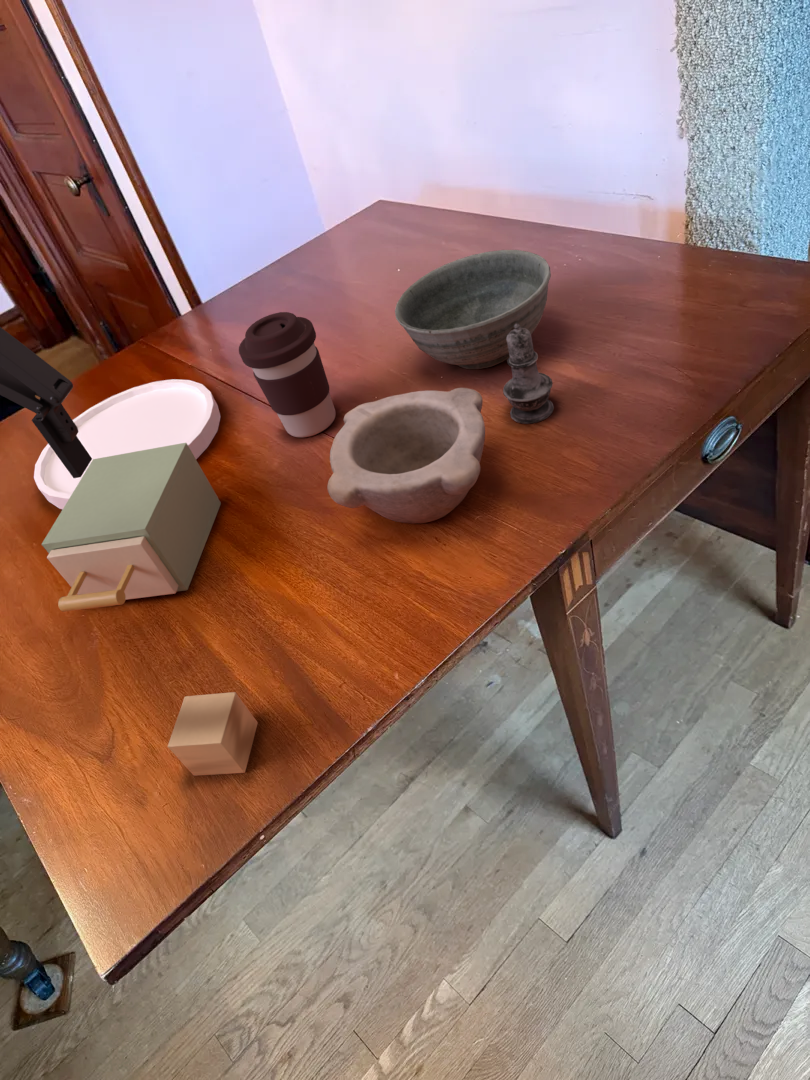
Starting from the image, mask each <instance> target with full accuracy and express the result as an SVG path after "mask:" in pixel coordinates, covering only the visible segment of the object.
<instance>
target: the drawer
mask: <svg viewBox="0 0 810 1080" xmlns="http://www.w3.org/2000/svg"><path fill="white" fill-rule="evenodd" d="M46 559H47V560H48V561H49V562H50V563H51V565H52V566H53V567H54V569H55V570H56V571H57V572H58V573H59V575H60V576H61V577H62V578H63V579H64V580H65V581H66V582H67V584H68V585H69V587H71V588H70V590H69V591H68V593H67V595H65V596H61V597H60V598H59V599H58V602H57V605H58V608H59V609H58V610H60V611H61V612H65V613H66V612H74V611H81V610H91V609H98V608H106V607H107V608H108V607H113V606H123V605H124V604H125V602H126V600H134V599H135V600H136V599H141V598H150V597H157V596H165V595H173V594H174V595H175V594H176V593H177V592H178V591H177V589H178V586H179V585H178V584H177V582H176V581H175V580H174V578H173V577H172V575H171V574H170V572H169V571H168V570H167V568H166V567H165V565H164V564H163V562H162V561H161V560H160V558H159V557H158V555H157V554H156V552H155V551H154V549H153V548H152V547H151V545H150V544H149V542H148V541H147V539H146V538H145V537H144V536H136V537H130V538H123V539H116V540H110V541H103V542H96V543H89V544H83V545H76V546H69V547H68V548H62V549H55V550H51V551H50V553H48V554H47V556H46ZM176 591H177V592H176Z"/></svg>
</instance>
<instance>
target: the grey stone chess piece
mask: <svg viewBox="0 0 810 1080" xmlns="http://www.w3.org/2000/svg"><path fill="white" fill-rule="evenodd" d="M519 326H520V325H518V324H517V323H515V326H514V328H515V329H513V330H512V331H510V332H509V334H508V335H507V345H508V350H509V355H510V357H509V358H508V359H506V362H507V365H508V366H509V367H510V369H511V374H512V378H510V379H509V380H508V381H507V382H505V384H504V386H503V389H502V392H503V395H504V397H505V398H506V399H507V401H508V402H509V403H510V405H511V406H512V407H511V409H510V412H509V414H510V418H511V420H512V421H514V422H515V423H518V424H522V425H531V424H532V425H533V424H537V423H540V422H542V421H545V420H546V419H547V418H549V417H550V416H551V415H552V413H554V409H555V405H554V403H553V401H551V400H550V399H549V398H550V395H551V391H552V388H553V384H554V383H553V380H552V377H550V376H549V375H548V374H546V373H543V372H539V369H538V365H537V362H538V361H537V360H538V359H539V358H538V357H539V355H538V353H537V352H536V351H535V350H534V344H533V339H532V334H531V333H530V332H529V330H527V329H525V328H519Z"/></svg>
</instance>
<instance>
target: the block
mask: <svg viewBox="0 0 810 1080" xmlns="http://www.w3.org/2000/svg"><path fill="white" fill-rule="evenodd" d="M174 723H175V724H174V727H173V729H172V732H171V734H170V735H171V736H170V738H169V741H168V744H167V748H168V749H169V750H170V751H171V752H172V754H173V755H174V756H175V757H176V758H177V759H178V760H179V761H180V762H181V763H182V764H183V766H184V767H185V768H186V769H187V770H188V772H189V773H191V774H192V776H194V777H196V776H213V775H214V776H215V775H229V774H231V775H232V774H245V773H246V771H247V767H248V763H249V760H250V755H251V751H252V748H253V743H254V740H255V735H256V732H257V728H258V721H257V720H256V718H255V717H254V715H253V714H252V712H251V711H250V709H249V708H248V707H247V706H246V704H245V702H243V700H242V698H241V697H240V696H239V694H238V693H237V692H236V691H232V692H231V691H230V692H218V693H207V694H197V695H195V694H194V695H185V696H184V698H183V700H182V704H181V706H180V708H179V712H178V715H177V717H176V720H175V722H174Z"/></svg>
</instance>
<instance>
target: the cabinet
mask: <svg viewBox="0 0 810 1080" xmlns="http://www.w3.org/2000/svg"><path fill="white" fill-rule="evenodd" d="M221 505H222V503H221V500H220V498H219V496H218V495H217V493H216V491H215V490H214V488H213V486H212V485H211V483H210V481H209V479H208V478H207V476H206V474H205V472H204V471H203V469H202V468H201V465H200V463H199V462H198V461H197V459H195V457H194V455H193V453H192V452H191V450H190V449H189V446H188V445H187V443H181V444H175V445H170V446H164V447H159V448H153V449H148V450H142V451H136V452H131V453H125V454H120V455H114V456H109V457H103V458H98V459H93V460H92V462H91V464H90V465H89V467H88V469H87V470H86V472H85V474H84V475H83V477H82V478H81V480H80V482H79V483H78V485H77V487H76V488H75V490H74V492H73V493H72V495H71V497H70V498H69V500H68V501H67V503H66V505H65V506H64V508H63V509H61V511H60V513H59V515H58V517H57V518H56V519H55V521H54V523H53V524H52V526H51V528H50V529H49V531H48V533H47V534H46V536H45V538H44V539H43V541H42V543H41V546H42V547H43V548H44V549H45V550H46V552H47V553H48V554H49V553H50V551H51V550H55V549H62V548H68V547H69V546H76V545H83V544H89V543H96V542H103V541H110V540H116V539H123V538H130V537H136V536H144V537H145V538H146V539H147V541H148V542H149V544H150V545H151V547H152V548H153V549H154V551H155V552H156V554H157V555H158V557H159V558H160V560H161V561H162V562H163V564H164V565H165V567H166V568H167V570H168V571H169V572H170V574H171V575H172V577H173V578H174V580H175V581H176V582H177V584H178V585H179V586H178V589H177V591H176V593H178V592H184V591H188V590H189V587H190V585H191V582H192V579H193V577H194V575H195V572H196V569H197V566H198V564H199V561H200V559H201V556H202V553H203V552H204V551H203V550H204V549H205V546H206V543H207V541H208V538H209V535H210V533H211V531H212V528H213V525H214V523H215V520H216V517H217V515H218V512H219V510H220V507H221Z"/></svg>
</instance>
